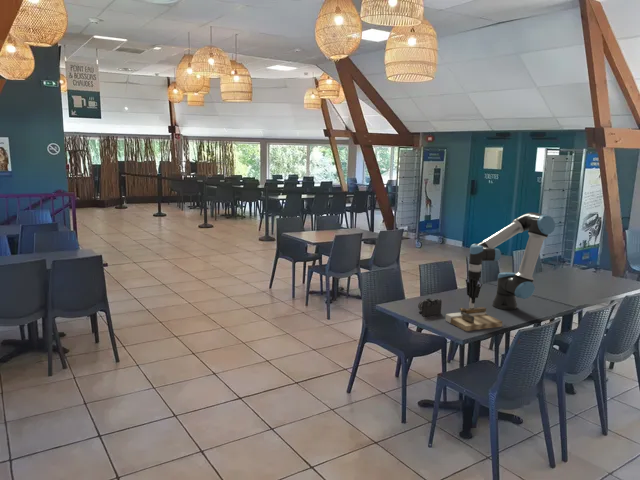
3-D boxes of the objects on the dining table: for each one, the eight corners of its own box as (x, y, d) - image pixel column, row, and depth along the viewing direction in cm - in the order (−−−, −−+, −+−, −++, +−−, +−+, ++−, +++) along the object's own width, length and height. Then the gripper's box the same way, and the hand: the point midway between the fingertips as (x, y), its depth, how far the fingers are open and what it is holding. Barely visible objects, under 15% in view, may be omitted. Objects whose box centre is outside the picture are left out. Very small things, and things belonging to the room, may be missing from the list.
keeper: (464, 318, 299) (465, 312, 298) (473, 323, 292) (474, 317, 291) (462, 318, 298) (462, 313, 298) (471, 323, 291) (471, 317, 290)
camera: (430, 309, 325) (431, 294, 324) (442, 314, 316) (443, 298, 314) (413, 312, 318) (414, 296, 316) (425, 317, 309) (426, 301, 307)
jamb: (480, 316, 314) (481, 307, 313) (485, 318, 309) (486, 309, 308) (445, 320, 304) (446, 311, 303) (450, 323, 299) (451, 313, 298)
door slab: (485, 318, 309) (486, 314, 309) (502, 326, 296) (502, 321, 296) (450, 323, 299) (451, 318, 299) (465, 331, 286) (466, 326, 286)
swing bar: (461, 314, 302) (462, 309, 302) (458, 312, 305) (458, 308, 305) (486, 311, 309) (486, 307, 309) (482, 309, 312) (482, 305, 312)
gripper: (462, 268, 313) (459, 305, 318) (476, 273, 302) (473, 311, 306) (472, 267, 316) (469, 304, 320) (486, 272, 304) (483, 310, 308)
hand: (471, 307), depth 313 cm, fingers closed
